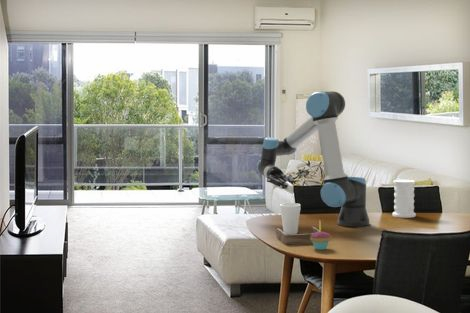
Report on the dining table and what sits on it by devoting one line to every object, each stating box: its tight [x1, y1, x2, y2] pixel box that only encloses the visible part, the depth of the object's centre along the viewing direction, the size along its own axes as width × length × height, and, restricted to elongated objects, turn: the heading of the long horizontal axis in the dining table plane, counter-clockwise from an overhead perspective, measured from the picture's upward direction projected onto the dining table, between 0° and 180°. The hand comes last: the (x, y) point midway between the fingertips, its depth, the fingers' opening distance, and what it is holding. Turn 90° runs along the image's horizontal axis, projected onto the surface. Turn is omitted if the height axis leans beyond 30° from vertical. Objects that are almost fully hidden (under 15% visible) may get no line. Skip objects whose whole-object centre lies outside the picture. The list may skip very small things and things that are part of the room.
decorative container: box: [392, 179, 417, 219], centre depth 379 cm, size 12×12×18 cm
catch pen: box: [276, 226, 319, 245], centre depth 323 cm, size 16×17×4 cm
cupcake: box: [310, 220, 332, 251], centre depth 305 cm, size 9×8×12 cm
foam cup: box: [279, 202, 301, 235], centre depth 338 cm, size 10×9×13 cm
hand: (291, 188), depth 343 cm, fingers closed
